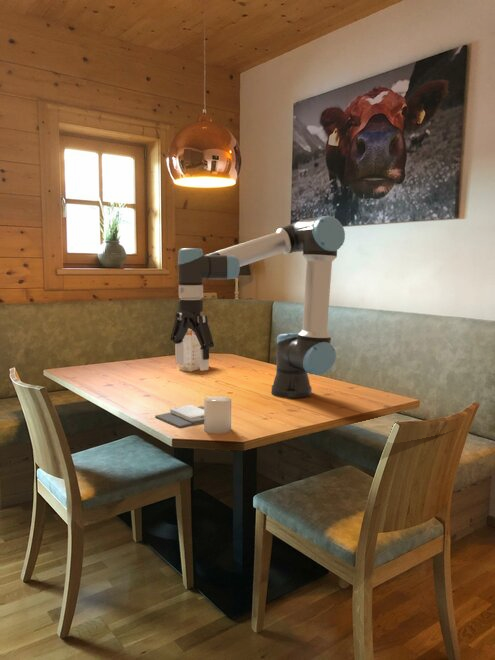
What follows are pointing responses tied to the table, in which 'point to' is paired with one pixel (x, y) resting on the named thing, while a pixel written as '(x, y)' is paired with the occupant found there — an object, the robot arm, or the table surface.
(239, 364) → the table surface
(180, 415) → the hard drive
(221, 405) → the cream rounded cylinder
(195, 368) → the coffeecake box
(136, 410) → the table surface
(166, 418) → the mat
